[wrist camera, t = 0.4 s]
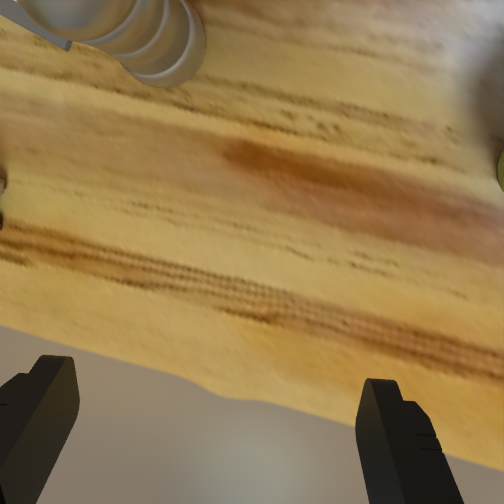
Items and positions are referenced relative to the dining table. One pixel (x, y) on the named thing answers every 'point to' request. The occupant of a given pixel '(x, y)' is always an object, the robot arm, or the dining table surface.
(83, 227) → the dining table surface
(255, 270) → the dining table surface
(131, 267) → the dining table surface
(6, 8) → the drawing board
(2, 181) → the toy lion
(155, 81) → the plastic bottle
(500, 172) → the plant pot
